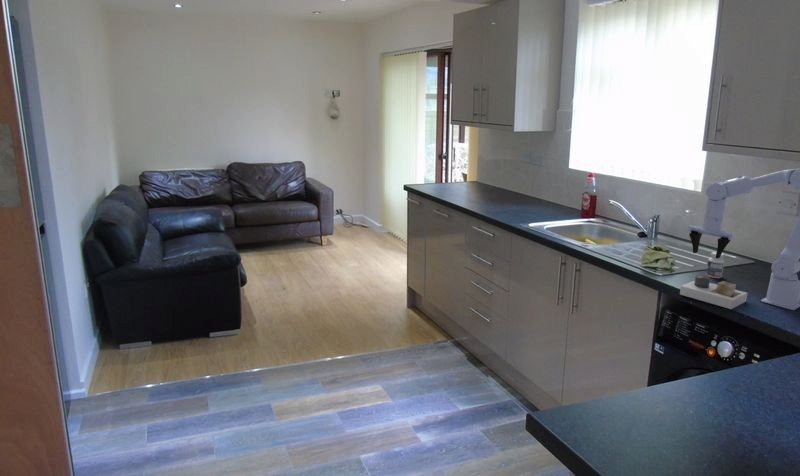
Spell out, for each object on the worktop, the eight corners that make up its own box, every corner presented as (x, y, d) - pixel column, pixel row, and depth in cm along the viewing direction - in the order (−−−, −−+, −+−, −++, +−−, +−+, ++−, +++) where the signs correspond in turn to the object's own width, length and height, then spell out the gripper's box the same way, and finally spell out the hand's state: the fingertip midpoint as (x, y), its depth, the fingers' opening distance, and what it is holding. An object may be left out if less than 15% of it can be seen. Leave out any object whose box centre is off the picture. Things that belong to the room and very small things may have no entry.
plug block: (732, 301, 184) (736, 284, 183) (727, 304, 182) (731, 286, 180) (719, 298, 187) (723, 281, 186) (714, 300, 185) (717, 283, 183)
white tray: (745, 301, 185) (749, 284, 184) (731, 309, 178) (734, 291, 176) (695, 287, 197) (698, 271, 195) (679, 294, 189) (682, 277, 188)
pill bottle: (707, 273, 215) (711, 250, 212) (722, 276, 211) (727, 253, 209) (704, 276, 211) (708, 253, 208) (719, 279, 207) (724, 256, 205)
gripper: (686, 214, 199) (680, 251, 202) (731, 222, 188) (723, 262, 192) (695, 212, 203) (689, 249, 207) (739, 220, 193) (731, 258, 196)
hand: (706, 255), depth 199 cm, fingers open, 7 cm apart
